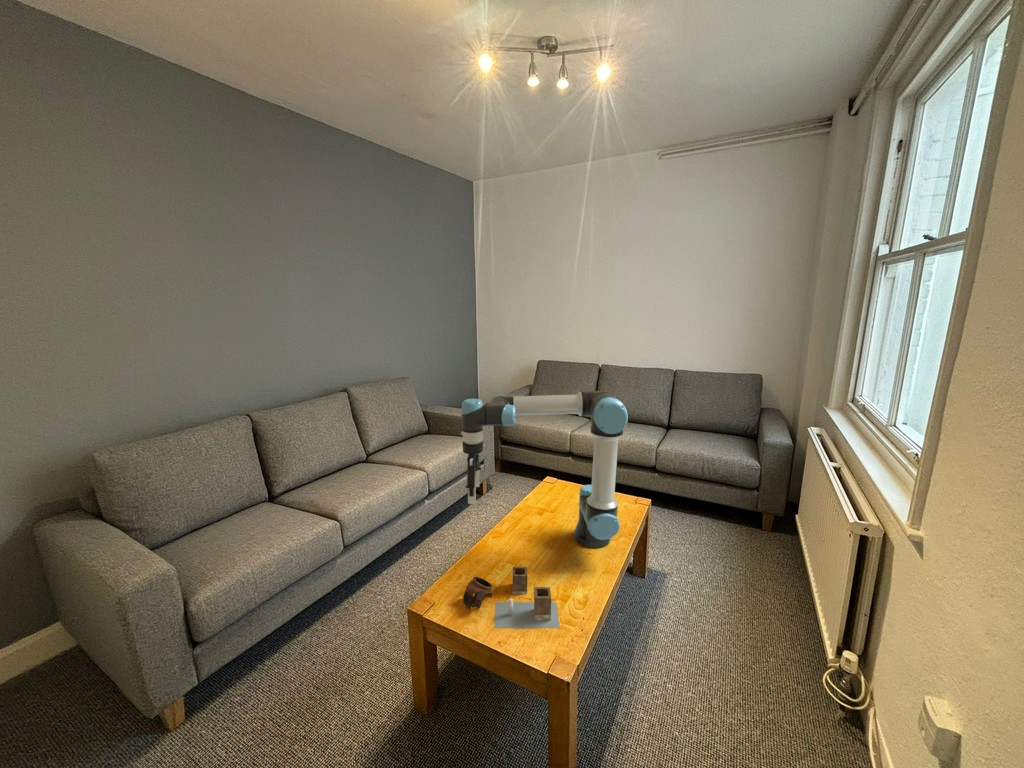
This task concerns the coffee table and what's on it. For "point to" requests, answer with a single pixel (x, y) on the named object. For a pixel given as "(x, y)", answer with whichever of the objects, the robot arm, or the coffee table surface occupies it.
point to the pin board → (522, 615)
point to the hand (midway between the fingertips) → (474, 494)
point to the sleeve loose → (519, 580)
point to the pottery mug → (476, 592)
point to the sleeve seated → (542, 603)
